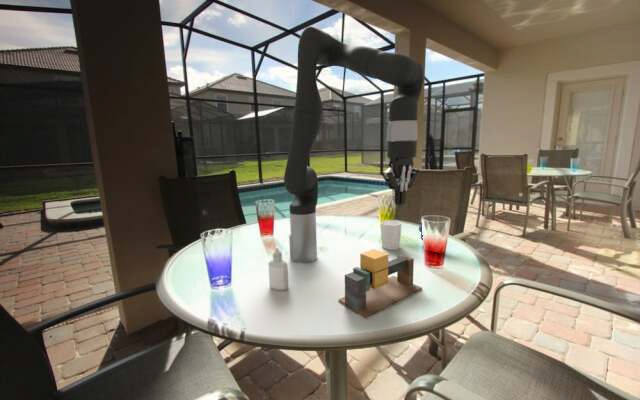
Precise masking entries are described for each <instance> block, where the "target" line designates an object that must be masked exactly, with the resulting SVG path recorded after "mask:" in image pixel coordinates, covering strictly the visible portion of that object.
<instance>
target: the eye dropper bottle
mask: <svg viewBox="0 0 640 400" xmlns="http://www.w3.org/2000/svg"><path fill="white" fill-rule="evenodd" d="M288 268H289V266H288V263H287V262H286V261H285V260H284V259H283V256H282V251H280V249H279V247H275V251H273V252H272V260H270V261H269V262H268V279H269V287H270V288H271V289H273V290H276V291H285V290H287V289H289V286H290V285H289V283H290V282H289V269H288Z"/></svg>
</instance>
